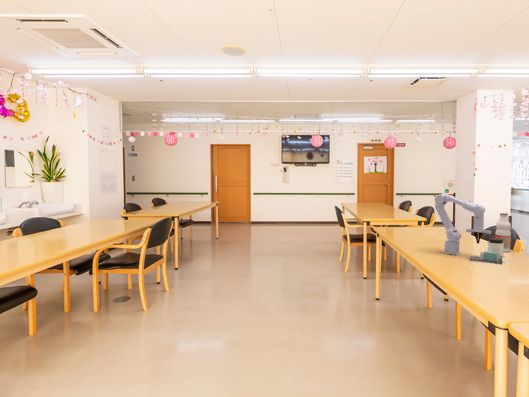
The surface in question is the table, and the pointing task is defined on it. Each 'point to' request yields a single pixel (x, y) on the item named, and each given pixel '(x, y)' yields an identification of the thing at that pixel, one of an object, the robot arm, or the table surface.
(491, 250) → the jar
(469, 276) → the table surface
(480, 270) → the table surface
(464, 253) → the table surface
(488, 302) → the table surface
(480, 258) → the jaw
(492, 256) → the block
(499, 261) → the vise
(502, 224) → the fruit juice
